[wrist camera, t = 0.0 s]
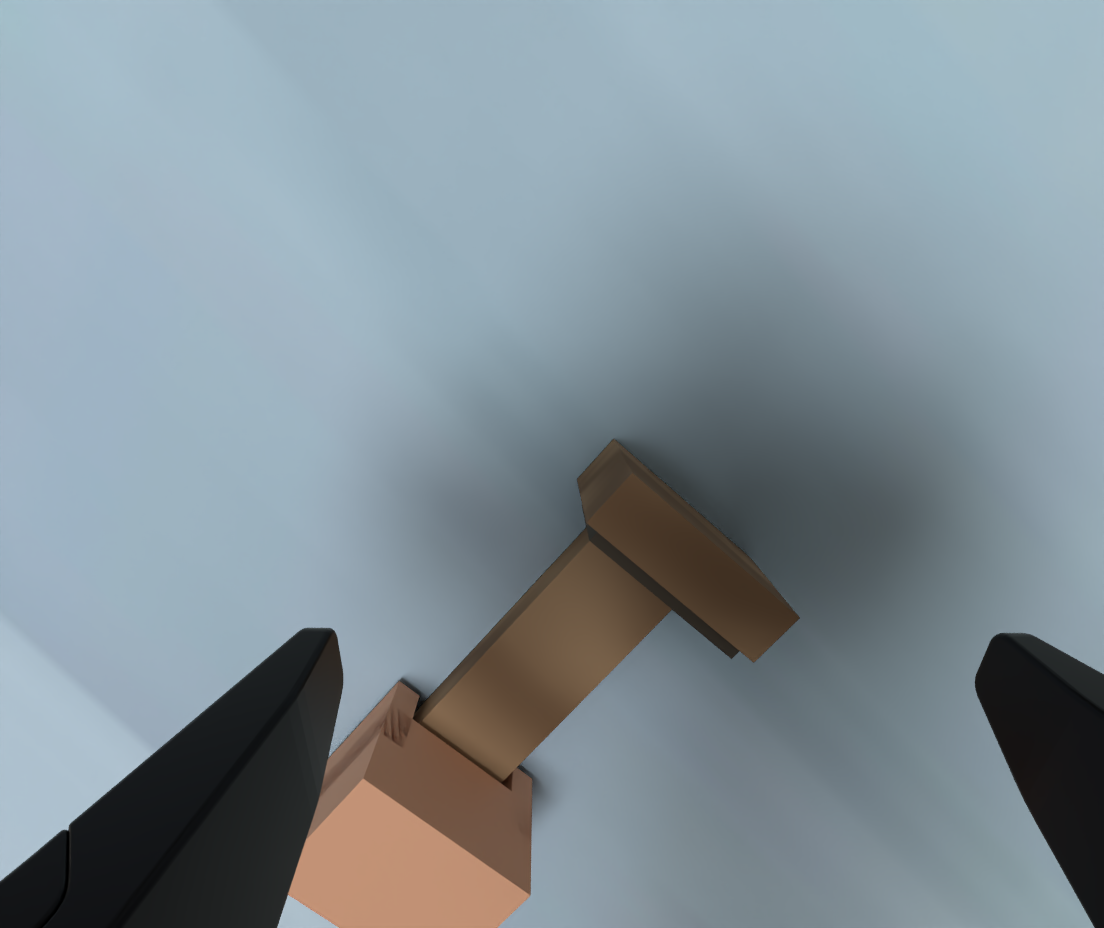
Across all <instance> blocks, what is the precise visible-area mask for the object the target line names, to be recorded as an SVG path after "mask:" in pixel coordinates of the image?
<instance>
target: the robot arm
mask: <svg viewBox="0 0 1104 928" xmlns="http://www.w3.org/2000/svg"><path fill="white" fill-rule="evenodd" d="M975 688H976V693H977V696H978V698H979V701H980V703H981V705H982V707H983V710H984V712H985V714H986V716H987V719H988V721H989V723H990V725H991V728H992V730H993V732H994V734H995V737H996V739H997V741H998V744H999V746H1000V748H1001V750H1002V753H1003V755H1004V757H1005V759H1006V762H1007V764H1008V766H1009V768H1010V771H1011V773H1012V775H1013V778H1014V780H1015V782H1016V784H1017V786H1018V788H1019V791H1020V793H1021V795H1022V797H1023V799H1024V801H1025V803H1026V805H1027V807H1028V809H1029V811H1030V812H1031V814H1032V816H1033V818H1034V820H1035V822H1036V824H1037V825H1038V827H1039V829H1040V831H1041V833H1042V834H1043V836H1044V838H1045V840H1046V842H1047V843H1048V845H1049V847H1050V849H1051V850H1052V852H1053V854H1054V856H1055V858H1056V859H1057V861H1058V863H1059V865H1060V867H1061V868H1062V870H1063V872H1064V874H1065V876H1066V877H1067V879H1068V881H1069V883H1070V884H1071V886H1072V888H1073V890H1074V892H1075V893H1076V895H1077V897H1078V899H1079V901H1080V902H1081V904H1082V906H1083V908H1084V910H1085V911H1086V913H1087V915H1088V917H1089V918H1090V920H1091V922H1092V924H1093V926H1094V927H1095V928H1104V674H1102V673H1100V672H1098V671H1097V670H1095V669H1093V668H1091V667H1089V666H1087V665H1086V664H1084V663H1082V662H1080V661H1078V660H1077V659H1075V658H1073V657H1071V656H1069V655H1068V654H1066V653H1064V652H1062V651H1060V650H1058V649H1057V648H1055V647H1053V646H1051V645H1049V644H1048V643H1046V642H1044V641H1042V640H1040V639H1039V638H1037V637H1035V636H1033V635H1030V634H1026V633H1000V634H997V635H996V636H994V637H993V638H992V639H991V641H990V643H989V646H988V648H987V650H986V653H985V655H984V657H983V660H982V662H981V664H980V667H979V669H978V671H977V674H976V677H975ZM342 689H343V669H342V663H341V657H340V651H339V645H338V639H337V635H336V633H335V631H334V630H333V629H331V628H304V629H302V630H300V631H299V632H297V633H296V634H295V635H294V636H293V637H292V638H290V639H289V640H288V641H287V642H286V643H284V644H283V645H282V646H281V647H280V648H278V649H277V650H276V651H275V652H274V653H273V654H271V655H270V656H269V657H268V658H267V659H265V660H264V661H263V662H262V663H261V664H259V665H258V666H257V667H256V668H255V669H253V670H252V671H251V672H250V673H249V674H248V675H246V676H245V677H244V678H243V679H242V680H240V681H239V682H238V683H237V684H236V685H234V686H233V687H232V688H231V689H230V690H229V691H227V692H226V693H225V694H224V695H223V696H221V697H220V698H219V699H218V700H217V701H215V702H214V703H213V704H212V705H211V706H209V707H208V708H207V709H206V710H205V711H204V712H202V713H201V714H200V715H199V716H198V717H196V718H195V719H194V720H193V721H192V722H190V723H189V724H188V725H187V726H186V727H185V728H183V729H182V730H181V731H180V732H179V733H177V734H176V735H175V736H174V737H173V738H171V739H170V740H169V741H168V742H167V743H165V744H164V745H163V746H162V747H161V748H160V749H158V750H157V751H156V752H155V753H154V754H152V755H151V756H150V757H149V758H148V759H146V760H145V761H144V762H143V763H142V764H141V765H139V766H138V767H137V768H136V769H135V770H133V771H132V772H131V773H130V774H129V775H127V776H126V777H125V778H124V779H123V780H121V781H120V782H119V783H118V784H117V785H116V786H114V787H113V788H112V789H111V790H110V791H108V792H107V793H106V794H105V795H104V796H102V797H101V798H100V799H99V800H98V801H97V802H95V803H94V804H93V805H92V806H91V807H89V808H88V809H87V810H86V811H85V812H83V813H82V814H81V815H80V816H79V817H78V818H76V819H75V820H74V821H73V822H72V823H71V824H70V825H69V831H68V830H62V831H61V832H59V833H58V834H57V835H56V836H55V837H53V838H52V839H51V840H50V841H49V842H47V843H46V844H45V845H44V846H43V847H41V848H40V849H39V850H38V851H37V852H36V853H34V854H33V855H32V856H31V857H30V858H28V859H27V860H26V861H25V862H23V863H22V864H21V865H20V866H18V867H17V868H16V869H15V870H14V871H12V872H11V873H10V874H9V875H7V876H6V877H5V878H4V879H2V880H1V881H0V928H277V926H278V923H279V920H280V917H281V914H282V911H283V908H284V905H285V902H286V899H287V896H288V893H289V890H290V887H291V884H292V881H293V878H294V875H295V872H296V869H297V866H298V863H299V860H300V856H301V853H302V850H303V847H304V844H305V841H306V838H307V835H308V832H309V829H310V826H311V823H312V820H313V817H314V814H315V810H316V807H317V804H318V801H319V796H320V792H321V788H322V784H323V779H324V774H325V770H326V765H327V760H328V756H329V751H330V746H331V741H332V737H333V732H334V727H335V723H336V718H337V713H338V709H339V704H340V699H341V694H342Z"/></svg>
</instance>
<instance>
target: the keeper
mask: <svg viewBox="0 0 1104 928" xmlns="http://www.w3.org/2000/svg"><path fill="white" fill-rule="evenodd" d="M418 699H419V695H418V694H416V693H415V692H414V691H412V690H411V689H410V688H408V687H407V686H406V685H404V684H403V683H401V682H400V681H399V682H398V683H397V684H396V685H395V686H394V687H393V688H392V689H391V690H390V692H389V693H388V694H387V695H386V696H385V697H384V698H383V699H382V700H381V701H380V703H379V704H378V705H377V706H376V707H375V708H374V709H373V710H372V711H371V712H370V713H369V715H368V716H367V717H366V718H365V719H364V720H363V721H362V722H361V723H360V724H359V726H358V727H357V728H356V729H355V730H354V731H353V732H352V733H351V734H350V735H349V737H348V738H347V739H346V740H345V741H344V742H343V743H342V744H341V745H340V746H339V748H338V749H337V750H336V751H335V752H334V753H333V754H332V755H331V756H330V757H329V759H328V760H327V765H326V770H325V774H324V779H323V784H322V788H321V792H320V796H319V801H318V804H317V807H316V810H315V814H314V817H313V820H312V823H311V826H310V829H309V832H308V835H307V838H306V841H305V844H304V847H303V850H302V853H301V856H300V860H299V863H298V866H297V869H296V872H295V875H294V878H293V881H292V884H291V887H290V890H289V893H288V895H289V896H291V897H293V898H294V899H296V900H297V901H299V902H300V903H302V904H303V905H305V906H306V907H308V908H310V909H311V910H313V911H314V912H316V913H317V914H319V915H320V916H322V917H323V918H325V919H327V920H328V921H330V922H331V923H333V924H334V925H336V926H337V927H339V928H497V927H498V926H499V925H500V924H501V923H502V922H503V921H505V920H506V919H507V918H508V917H509V916H510V915H511V914H512V913H513V912H514V911H515V910H516V909H517V908H518V907H519V906H520V905H521V904H522V903H523V902H524V901H525V900H526V899H527V898H528V897H529V896H530V894H531V826H532V778H530V777H529V776H528V775H526V774H525V773H524V772H522V771H521V770H519V769H518V768H516V769H515V770H514V771H513V772H512V773H511V774H510V775H509V776H508V777H507V778H506V779H505V780H504V781H503V782H502V783H500V782H498V781H497V780H496V779H494V778H493V777H491V776H490V775H489V774H487V773H486V772H485V771H483V770H482V769H480V768H479V767H478V766H476V765H475V764H474V763H472V762H471V761H469V760H468V759H467V758H465V757H464V756H463V755H461V754H460V753H458V752H457V751H456V750H454V749H453V748H452V747H450V746H449V745H447V744H446V743H445V742H443V741H442V740H441V739H439V738H438V737H436V736H435V735H434V734H432V733H431V732H430V731H428V730H427V729H426V728H424V727H423V726H421V725H420V724H419V723H417V722H416V721H415V720H413V716H414V712H415V709H416V706H417V702H418Z"/></svg>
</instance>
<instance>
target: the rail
mask: <svg viewBox="0 0 1104 928" xmlns="http://www.w3.org/2000/svg"><path fill="white" fill-rule="evenodd" d="M577 482H578V486H579V491H580V496H581V501H582V508H583V513H584V518H585V523H586V528H585V529H584V530H583V532H582V533H581V534H580V535H579V536H578V537H577V538H576V539H575V540H574V541H573V542H572V543H571V544H570V546H569V547H568V548H567V549H566V550H565V551H564V552H563V553H562V554H561V555H560V556H559V557H558V559H557V560H556V561H555V562H554V563H553V564H552V565H551V566H550V567H549V568H548V569H547V570H546V571H545V573H544V574H543V575H542V576H541V577H540V578H539V579H538V580H537V581H536V582H535V583H534V584H533V585H532V587H531V588H530V589H529V590H528V591H527V592H526V593H525V594H524V595H523V596H522V597H521V598H520V599H519V601H518V602H517V603H516V604H515V605H514V606H513V607H512V608H511V609H510V610H509V611H508V612H507V614H506V615H505V616H504V617H503V618H502V619H501V620H500V621H499V622H498V623H497V624H496V625H495V626H494V628H493V629H492V630H491V631H490V632H489V633H488V634H487V635H486V636H485V637H484V638H483V639H482V640H481V642H480V643H479V644H478V645H477V646H476V647H475V648H474V649H473V650H472V651H471V652H470V653H469V655H468V656H467V657H466V658H465V659H464V660H463V661H462V662H461V663H460V664H459V665H458V666H457V667H456V669H455V670H454V671H453V672H452V673H451V674H450V675H449V676H448V677H447V678H446V679H445V680H444V681H443V683H442V684H441V685H440V686H439V687H438V688H437V689H436V690H435V691H434V692H433V693H432V694H431V695H430V697H429V698H428V699H427V700H426V701H425V702H424V703H423V704H422V705H421V706H420V707H419V708H418V710H417V711H416V712H415V713H414V716H413V720H415V721H416V722H417V723H419V724H420V725H421V726H423V727H424V728H426V729H427V730H428V731H430V732H431V733H432V734H434V735H435V736H436V737H438V738H439V739H441V740H442V741H443V742H445V743H446V744H447V745H449V746H450V747H452V748H453V749H454V750H456V751H457V752H458V753H460V754H461V755H463V756H464V757H465V758H467V759H468V760H469V761H471V762H472V763H474V764H475V765H476V766H478V767H479V768H480V769H482V770H483V771H485V772H486V773H487V774H489V775H490V776H491V777H493V778H494V779H496V780H497V781H498V782H500V783H502V782H503V781H504V780H505V779H506V778H507V777H508V776H509V775H510V774H511V773H512V772H513V771H514V770H515V769H516V768H517V767H518V766H519V765H520V764H521V762H522V761H523V760H524V759H525V758H526V757H527V756H528V755H529V754H530V753H531V752H532V751H533V750H534V749H535V748H536V747H537V746H538V745H539V744H540V743H541V742H542V741H543V740H544V739H545V738H546V737H547V736H548V735H549V734H550V733H551V732H552V731H553V730H554V729H555V728H556V727H557V726H558V725H559V724H560V723H561V722H562V721H563V720H564V719H565V718H566V717H567V716H568V715H569V714H570V713H571V712H572V711H573V710H574V709H575V708H576V707H577V706H578V705H579V704H580V703H581V702H582V700H583V699H584V698H585V697H586V696H587V695H588V694H589V693H590V692H591V691H592V690H593V689H594V688H595V687H596V686H597V685H598V684H599V683H600V682H601V681H602V680H603V679H604V678H605V677H606V676H607V675H608V674H609V673H610V672H611V671H612V670H613V669H614V668H615V667H616V666H617V665H618V664H619V663H620V662H621V661H622V660H623V659H624V658H625V657H626V656H627V655H628V654H629V653H630V652H631V651H632V650H633V649H634V648H635V647H636V646H637V645H638V644H639V643H640V642H641V641H642V639H643V638H644V637H645V636H646V635H647V634H648V633H649V632H650V631H651V630H652V629H653V628H654V627H655V626H656V625H657V624H658V623H659V622H660V621H661V620H662V619H663V618H664V617H665V616H666V615H667V614H668V613H669V612H670V611H671V610H673V611H675V612H676V613H677V614H678V615H679V616H681V617H682V618H683V619H684V620H685V621H687V622H688V623H689V624H690V625H691V626H693V627H694V628H695V629H696V630H697V631H699V632H700V633H701V634H702V635H703V636H705V637H706V638H707V639H708V640H709V641H711V642H712V643H713V644H714V645H715V646H717V647H718V648H719V649H720V650H721V651H723V652H724V653H725V654H726V655H727V656H729V657H730V658H731V659H732V658H733V657H734V656H735V655H736V654H737V653H738V652H739V651H740V652H741V653H743V654H744V655H745V656H746V657H747V658H749V659H750V660H751V661H752V662H753V663H754V662H755V661H756V660H757V659H758V658H759V657H760V656H761V655H762V654H763V653H764V652H765V651H766V650H767V649H768V648H769V647H770V646H772V645H773V644H774V643H775V642H776V641H777V640H778V639H779V638H780V637H781V636H782V635H783V634H784V633H785V632H786V631H787V630H788V629H789V628H790V627H791V626H792V625H793V624H794V623H795V622H796V621H797V620H798V619H799V618H800V617H799V616H798V615H797V614H796V613H795V611H794V610H793V609H792V608H791V607H790V605H789V604H788V603H787V602H786V600H785V599H784V598H783V597H782V596H781V594H780V593H779V592H778V591H777V590H776V588H775V587H774V586H773V585H772V583H771V582H770V581H769V580H768V579H767V577H766V576H765V575H764V574H763V573H762V571H761V570H760V569H759V568H758V567H757V565H756V564H755V563H754V562H753V560H752V559H751V558H750V557H749V556H748V555H747V554H745V553H744V552H743V551H742V550H741V549H740V548H739V547H737V546H736V545H735V544H734V543H733V542H732V541H731V540H729V539H728V538H727V537H726V536H725V535H724V534H723V533H721V532H720V531H719V530H718V529H717V528H716V527H714V526H713V525H712V524H711V523H710V522H709V521H708V520H706V519H705V518H704V517H703V516H702V515H701V514H700V513H698V512H697V511H696V510H695V509H694V508H693V507H692V506H690V505H689V504H688V503H687V502H686V501H685V500H684V499H682V498H681V497H680V496H679V495H678V494H677V493H676V492H674V491H673V490H672V489H671V488H670V487H669V486H668V485H666V484H665V483H664V482H663V481H662V480H661V479H659V478H658V477H657V476H656V475H655V474H654V473H653V472H651V471H650V470H649V469H648V468H647V467H646V466H645V465H643V464H642V463H641V462H640V461H639V460H638V459H637V458H635V457H634V456H633V455H632V454H631V453H630V452H629V451H627V450H626V449H625V448H624V447H623V446H622V445H621V444H619V443H618V442H617V441H616V440H615V439H613V440H612V441H611V442H610V443H609V444H608V446H607V447H606V448H605V449H604V450H603V451H602V452H601V453H600V454H599V455H598V457H597V458H596V459H595V460H594V461H593V462H592V463H591V464H590V465H589V466H588V468H587V469H586V470H585V471H584V472H583V473H582V474H581V475H580V476H579V477H578V479H577Z"/></svg>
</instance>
